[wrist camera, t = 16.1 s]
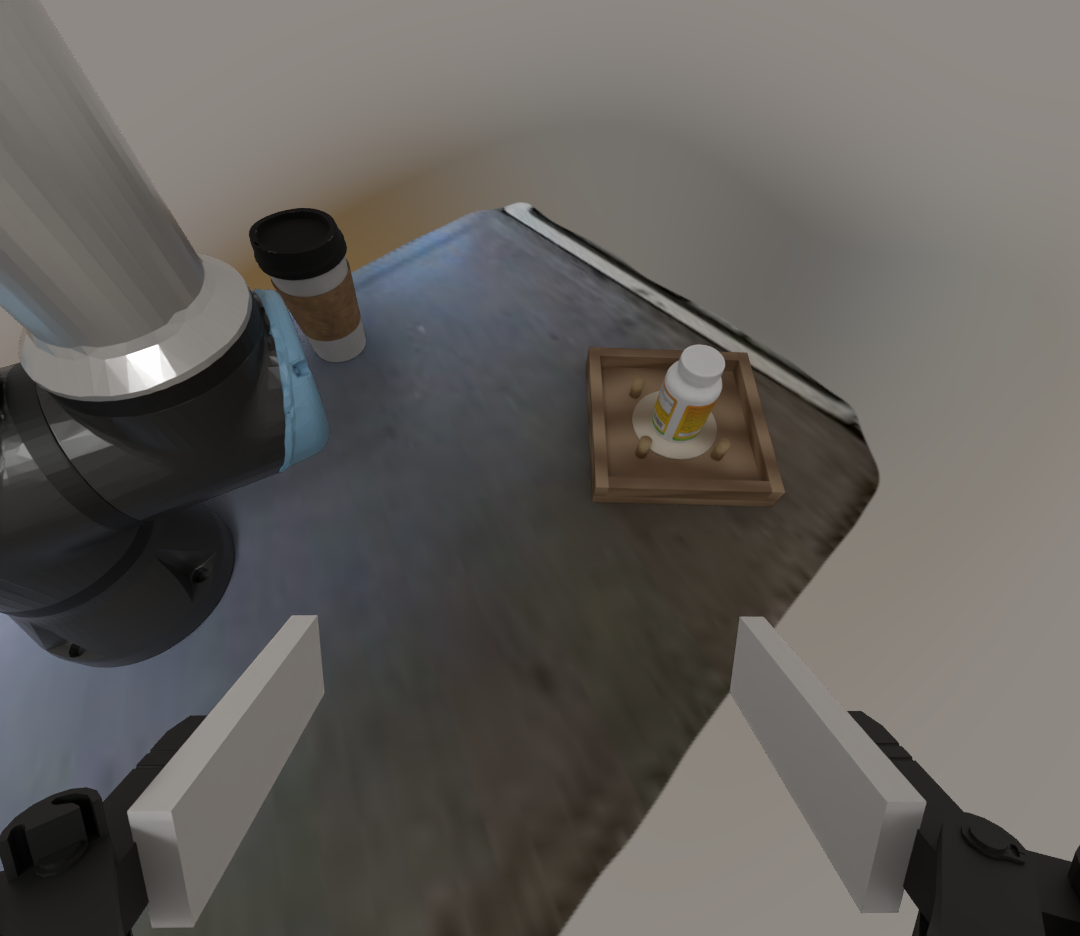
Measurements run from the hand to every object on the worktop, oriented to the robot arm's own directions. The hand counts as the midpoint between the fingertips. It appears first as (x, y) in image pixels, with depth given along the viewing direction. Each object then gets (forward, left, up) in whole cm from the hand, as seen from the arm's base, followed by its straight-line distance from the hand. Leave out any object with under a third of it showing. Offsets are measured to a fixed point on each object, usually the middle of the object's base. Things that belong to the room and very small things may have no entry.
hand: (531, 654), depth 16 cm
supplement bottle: (-12, +30, -27) cm, 42 cm away
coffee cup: (-45, +8, -28) cm, 54 cm away
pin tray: (-12, +30, -28) cm, 43 cm away
